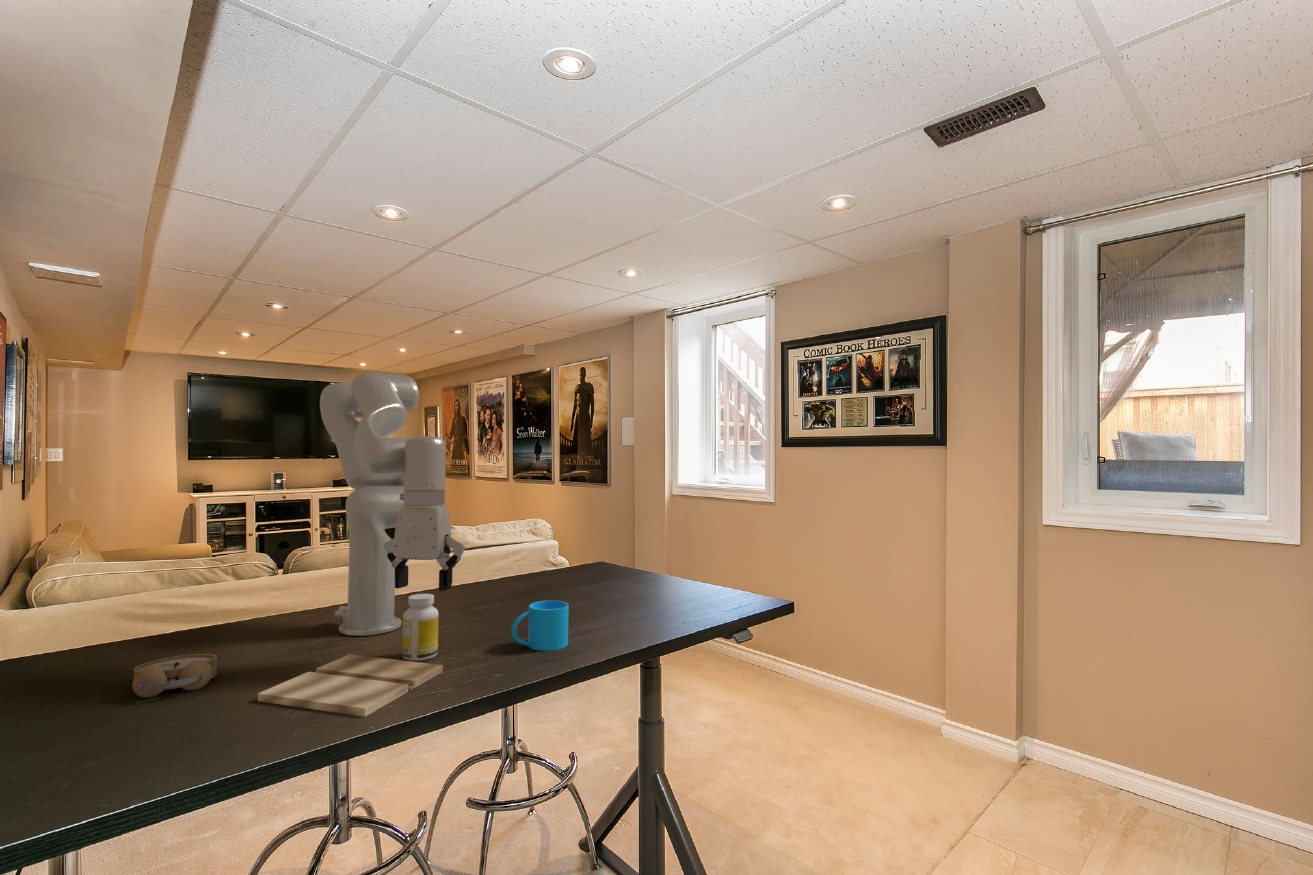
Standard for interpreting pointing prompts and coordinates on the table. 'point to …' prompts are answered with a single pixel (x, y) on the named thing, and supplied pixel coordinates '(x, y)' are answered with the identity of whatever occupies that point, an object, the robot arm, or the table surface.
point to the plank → (334, 693)
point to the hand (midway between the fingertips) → (423, 588)
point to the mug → (545, 626)
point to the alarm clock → (174, 674)
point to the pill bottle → (420, 628)
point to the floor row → (382, 669)
